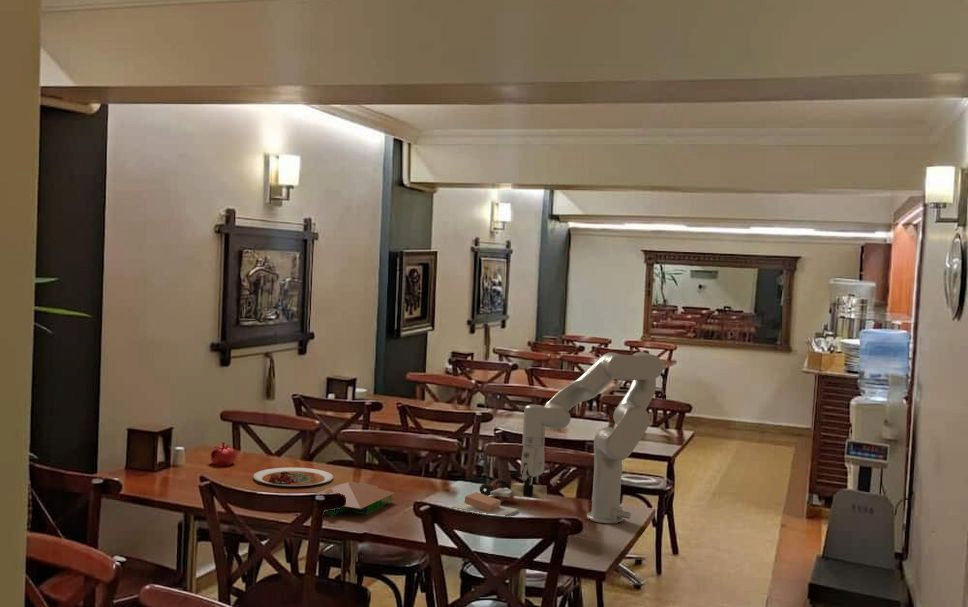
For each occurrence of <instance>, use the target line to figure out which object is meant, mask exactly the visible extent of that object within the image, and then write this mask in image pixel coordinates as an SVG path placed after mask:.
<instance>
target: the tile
mask: <svg viewBox="0 0 968 607" xmlns="http://www.w3.org/2000/svg"><path fill="white" fill-rule="evenodd" d="M464 501H465V502H464ZM464 501H463V502H464V503H465V504H468V505H471V506H474V507H477V508H480V509H482V510H485V511H488V512H490V511H493V510H495V509H497V508H499V507H500V506H501V503H502V502H501V500H499V498H495V497H493V496H490V495H489V496H487V495H484V494H481V492H477V491H476V492H473V493H471V494H468V495H466V496H465V497H464Z"/></svg>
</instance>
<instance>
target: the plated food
mask: <svg viewBox="0 0 968 607" xmlns="http://www.w3.org/2000/svg"><path fill="white" fill-rule="evenodd" d="M276 473H279V474H276ZM307 473H312V474H315V475H320V476H322V477H323V478H324V480H322V481H320V482H316V483H312V484H311V483H310V482H313V481H315V479H314V478H313V477H312V476H310V475H309V474H307ZM270 474H271V475H270ZM267 475H270V478H269V480H268V481H265V480H263V479H264V477H265V476H267ZM252 478H253V479H254V480H255V481H256V482H259V483H263V484H267V485H273V486H277V487H278V486H279V487H307V486H308V487H309V486H314V485H315V486H316V485H321V484H322V485H323V484H325V483H328V482H330V481H332V480H333V479H334V475H333V474H332V473H330V472H328V471H325V470H322V469H316V468H310V467H275V468H268V469H267V468H266V469H263V470H260V471H256V472H255V473H254V474H253V476H252ZM291 483H292V484H291ZM295 483H298V484H295Z"/></svg>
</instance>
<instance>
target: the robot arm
mask: <svg viewBox="0 0 968 607" xmlns="http://www.w3.org/2000/svg"><path fill="white" fill-rule="evenodd" d="M663 371H664V363H663V360H662V359H661V358H660V357H659V356H657V355H655V354H653V353H652V354H651V353H648V352H643V351H639V352H635V353H633V354H621V353H617V352H607V353H605V354H603V355H602V356H601V357H599V358H598V360H596V361H595V362H594V363H593V364H592V365H591V366H590V367H589V368H588V369H587V370H586V371H585V372H584V373H583V374H582V375H581V376H579V377H578V378H577V379H575V380H574V381H572V382H571V383H570V384H568V385H567V386H565V387H563V389H562V388H561V390H560V391H558V392H557V393H555V395H554V396H553V397H552V398H551V399H550V400H549V401H547V402H546V403H545V405H540V404H526V406H525V407H524V410H523V411H524V412H523V423H522V424H523V425H522V428H523V429H522V443H521V444H522V445H521V446H523V447H522V452H521V459H520V461H521V462H520V475H521V480H522V481H523V482H522V484H524V490H523V496H527V497H532V494H533V485H539V477H540V475H542V474H544V472H545V443H546V442H545V440H546V439H545V438H546V428H551V429H557V430H558V429H559V430H561V429H565V428H566V427H567V426H569V424H570V422H571V414H570V412H569V411H570V410H571V409H572V408H573V407H575V406H577V405H579V404H580V403H583V402H585V401H589V400H592V399H594V398H596V397H597V396H598V395H599V394H600V393H601V392H603V390H604V389H605V388H606V387H608V385H610V383H612V382H613V381H614V380H622V381H631V384H630V387H629V388H628V390H627V392H626V393H625V395H624V396H623V398H622V399H621V401H620V402H619V403H618V405H617V406H616V408H615V410H614V412H613V416H612V417H613V421H614V423H615V424H616V427H615V428H614V427H611V426H608V427H607V426H606V427H602V428H601V429H599V430H598V431H597V432H596V434H595V436H594V438H593V455H594V463H593V464H594V465H593V482H592V484H593V485H592V500H591V511H589V512H587V513H586V518H587V519H588V520H589V519H590V520H589V521H592V522H595V523H601V524H619V523H618V522H620V523H622V522H623V521H624V519H627V520H631V517H632V515H631V512H630V511H625V510H623V506H620V505H621V492H622V490H621V489H622V488H621V487H622V474H623V460H626V459H627V458H628V457H629V456H630V455H631V454H632V453H633V451H634V450H635V448H636V447H637V445H638V444H639V443H640V441H641V439H642V438H643V437H644V434H645V433H646V432H647V429H648V428H649V424H650V415H649V413H648V411H647V408H648V407H649V405H650V403H651V402H652V400H653V397H654V395H655V393H656V388H657V378H659V377H660V375H661V376H662V373H663ZM532 484H533V485H532ZM621 521H622V522H621Z"/></svg>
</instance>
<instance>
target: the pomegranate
mask: <svg viewBox="0 0 968 607" xmlns="http://www.w3.org/2000/svg"><path fill="white" fill-rule="evenodd" d="M221 444H222V445H220V444H218V445H217V446H215V447H214V449H213V450H212V451H211V453H210V460H211V462H212V464H213V465H214V466H218V467H228V466H231V465H233V464H234V463H235V461H236V458H237V453H236V450H235V449H234V448H233V446H232V445H231V444H228V445H226V442H225V441H223V442H222V443H221Z"/></svg>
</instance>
